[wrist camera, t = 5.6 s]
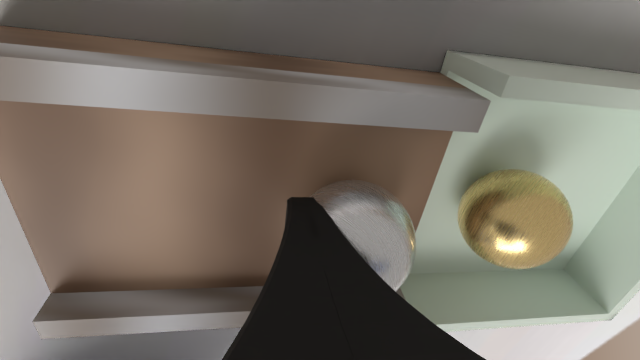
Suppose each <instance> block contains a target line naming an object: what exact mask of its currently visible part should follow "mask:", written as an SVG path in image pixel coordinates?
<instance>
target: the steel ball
mask: <svg viewBox="0 0 640 360" xmlns="http://www.w3.org/2000/svg"><path fill="white" fill-rule="evenodd" d="M310 197H314V199H315V200H316V201H317V202H318V203H319V204H320V205H322V206H323V208H324V209H325V210H326V212H327V213H328V214H329V216H330V217H331V218H332V220H333V221H334V222H335V224H336V225H337V227H338V228H339V229H340V231H341V232H342V233H343V235H344V236H345V237H346V238H347V240H348V241H349V242H350V243H351V245H352V246H353V247H354V248H355V250H356V251H357V252H358V253H359V254H360V255H361V257H362V258H363V259H364V260H365V261H366V262H367V263H368V264H369V266H370V267H371V268H372V269H373V270H374V271H375V272H376V273H377V274H378V275H379V276H380V277H381V278H382V279H383V280H384V281H385V282H386V283H387V284H388V285H389V286H390V287H391V288H392V289H393V290H394V291H395V292H396V291H397V290H398V289H399V288H400V287H401V286H402V285H403V284H404V282H405V280H406V279H407V277H408V276H409V274H410V272H411V269H412V267H413V264H414V261H415V255H416V234H415V229H414V226H413V223H412V220H411V218H410V216H409V214H408V212H407V210H406V209H405V207H404V206H403V205H402V203H401V202H400V201H399V200H398V199H397V198H396V197H395V196H394V195H393V194H391V193H390V192H389V191H387V190H386V189H384V188H382V187H380V186H378V185H376V184H373V183H370V182H366V181H362V180H343V181H338V182H334V183H331V184H329V185H326V186H324V187H322V188H321V189H319V190H318V191H316V192H315V193H314V194H312V195H311V196H310Z"/></svg>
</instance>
